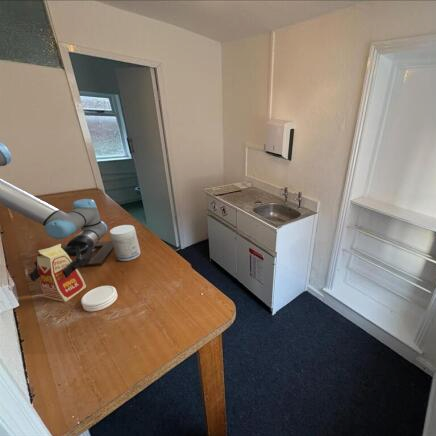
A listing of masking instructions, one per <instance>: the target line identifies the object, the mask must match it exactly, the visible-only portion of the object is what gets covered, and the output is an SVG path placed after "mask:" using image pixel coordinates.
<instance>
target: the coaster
mask: <svg viewBox="0 0 436 436" xmlns="http://www.w3.org/2000/svg"><path fill="white" fill-rule="evenodd" d="M117 300H118V292H117V289H116V287H114V286H112V285H101V286H97V287H94V288H92V289H91V290H88V291H87V292H86V293H85V294H84V295H82V297H81V299H80V303H81V306H82V308H83V310H84V311H86V312H98V311H102V310H105V309H107V308H109V307H110V306H112V305H113V304H114V303H116V301H117Z"/></svg>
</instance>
